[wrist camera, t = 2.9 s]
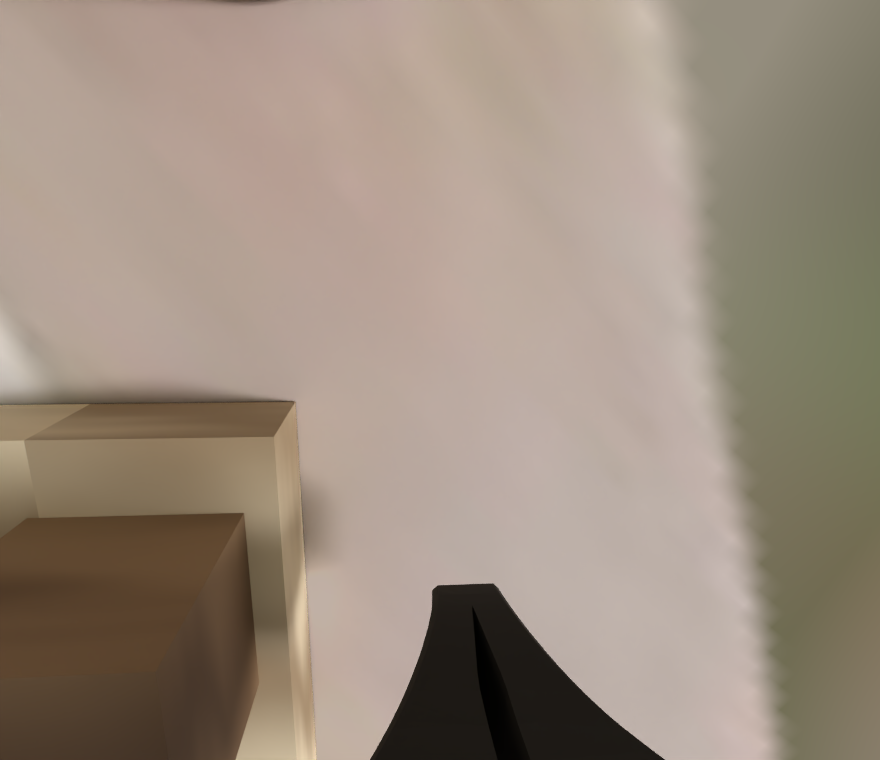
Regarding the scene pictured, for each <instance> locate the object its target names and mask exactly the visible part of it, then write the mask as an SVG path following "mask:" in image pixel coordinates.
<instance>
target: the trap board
mask: <svg viewBox="0 0 880 760" xmlns="http://www.w3.org/2000/svg"><path fill="white" fill-rule="evenodd" d="M220 513H244V518H245V529H246V540H247V551H248V563H249V574H250V585H251V597H252V608H253V619H254V630H255V642H256V653H257V664H258V675H259V686H258V689H257V692H256V695H255V699H254V702H253V705H252V708H251V711H250V715H249V718H248V721H247V724H246V728H245V731H244V734H243V737H242V740H241V744H240V747H239V750H238V753H237V756H236V760H317V759H316V742H315V725H314V708H313V691H312V674H311V657H310V640H309V623H308V606H307V589H306V572H305V555H304V538H303V521H302V504H301V487H300V470H299V453H298V436H297V419H296V402H231V403H135V404H39V405H0V538H1V537H3V536H4V535H5V534H7V533H8V532H9V531H11V530H12V529H13V528H15V527H16V526H17V525H18V524H20V523H21V522H22V521H24V520H25V519H26V518H58V517H98V516H139V515H179V514H220Z"/></svg>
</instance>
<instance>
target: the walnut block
mask: <svg viewBox="0 0 880 760" xmlns="http://www.w3.org/2000/svg"><path fill="white" fill-rule="evenodd" d="M258 686H259V675H258V664H257V653H256V642H255V630H254V619H253V608H252V597H251V585H250V574H249V563H248V551H247V540H246V529H245V518H244V513H220V514H179V515H139V516H98V517H58V518H26V519H25V520H24V521H22V522H21V523H20V524H18V525H17V526H16V527H15V528H13V529H12V530H11V531H9V532H8V533H7V534H5V535H4V536H3V537H1V538H0V760H236V756H237V753H238V750H239V747H240V744H241V740H242V737H243V734H244V731H245V728H246V724H247V721H248V718H249V715H250V711H251V708H252V705H253V702H254V699H255V695H256V692H257V689H258Z"/></svg>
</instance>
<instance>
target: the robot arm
mask: <svg viewBox="0 0 880 760" xmlns="http://www.w3.org/2000/svg"><path fill="white" fill-rule="evenodd" d="M370 760H665V759H663V758H662V757H661V756H659V755H658V754H656V753H655V752H654V751H652V750H651V749H650V748H649V747H647V746H646V745H645V744H643V743H642V742H641V741H639V740H638V739H637V738H636V737H634V736H633V735H632V734H630V733H629V732H628V731H627V730H625V729H624V728H623V727H622V726H620V725H619V724H618V723H617V722H616V721H614V720H613V719H612V718H611V717H610V716H608V715H607V714H606V713H605V712H604V711H603V710H602V709H601V708H600V707H599V706H597V705H596V704H595V703H594V702H593V701H592V700H591V699H590V698H589V697H588V696H587V695H586V694H585V693H584V692H583V691H582V690H581V689H580V688H579V687H578V686H577V685H576V684H575V683H574V682H573V681H572V680H571V679H570V678H569V677H568V676H567V675H566V674H565V673H564V672H563V670H562V669H561V668H560V667H559V666H558V665H557V664H556V663H555V662H554V661H553V659H552V658H551V657H550V656H549V655H548V654H547V653H546V651H545V650H544V649H543V648H542V647H541V645H540V644H539V643H538V642H537V640H536V639H535V638H534V637H533V636H532V634H531V633H530V632H529V631H528V629H527V628H526V627H525V626H524V624H523V623H522V622H521V620H520V619H519V618H518V616H517V615H516V614H515V612H514V611H513V609H512V608H511V607H510V605H509V604H508V602H507V601H506V600H505V598H504V597H503V595H502V594H501V592H500V591H499V589H498V588H497V587H496V586H495V585H494V584H467V585H438V586H437V587H436V588H434V589H433V590H432V612H431V617H430V621H429V626H428V630H427V633H426V637H425V640H424V643H423V647H422V650H421V653H420V656H419V659H418V662H417V664H416V667H415V670H414V672H413V675H412V677H411V680H410V682H409V685H408V687H407V690H406V692H405V694H404V697H403V699H402V701H401V703H400V705H399V707H398V709H397V711H396V713H395V715H394V717H393V719H392V721H391V723H390V725H389V727H388V729H387V731H386V733H385V734H384V736H383V738H382V740H381V742H380V743H379V745H378V747H377V749H376V751H375V752H374V754H373V756H372V757H371V759H370Z"/></svg>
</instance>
